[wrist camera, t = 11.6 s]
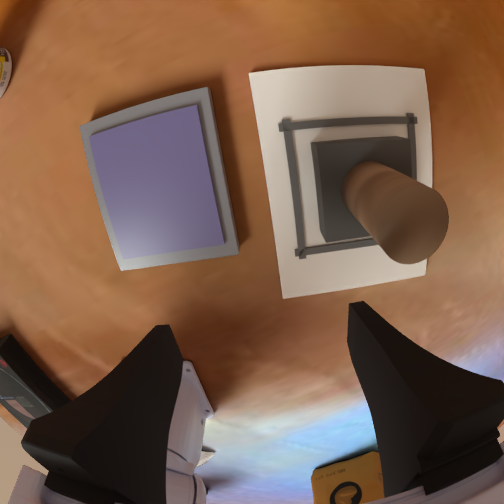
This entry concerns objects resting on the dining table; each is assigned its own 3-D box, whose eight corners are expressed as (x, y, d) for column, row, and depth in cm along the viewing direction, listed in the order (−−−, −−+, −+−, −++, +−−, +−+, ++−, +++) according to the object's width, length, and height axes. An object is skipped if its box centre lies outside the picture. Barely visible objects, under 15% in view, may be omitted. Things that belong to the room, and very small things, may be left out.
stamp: (398, 219, 20) (459, 275, 12) (319, 230, 20) (352, 297, 13) (396, 136, 17) (470, 155, 10) (310, 142, 17) (347, 161, 10)
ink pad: (239, 246, 21) (238, 256, 20) (126, 263, 22) (119, 272, 21) (210, 88, 16) (206, 86, 15) (88, 124, 17) (77, 126, 16)
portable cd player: (40, 417, 37) (33, 433, 33) (-23, 348, 30) (-35, 363, 27) (93, 417, 34) (85, 438, 30) (12, 331, 27) (-3, 351, 24)
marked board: (422, 272, 22) (426, 276, 21) (282, 295, 23) (283, 300, 22) (420, 69, 15) (425, 68, 14) (248, 74, 16) (248, 72, 15)
